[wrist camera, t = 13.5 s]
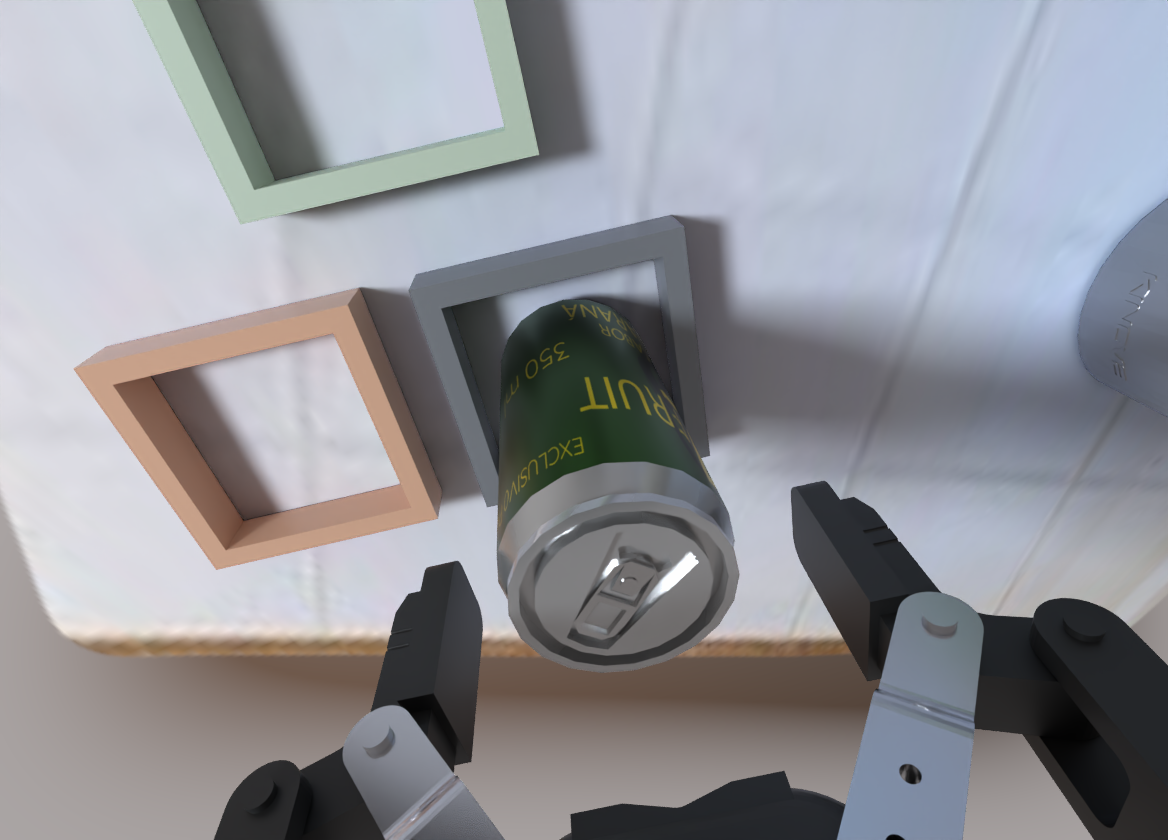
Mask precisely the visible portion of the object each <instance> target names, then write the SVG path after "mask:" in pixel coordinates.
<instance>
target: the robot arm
mask: <svg viewBox="0 0 1168 840" xmlns="http://www.w3.org/2000/svg"><path fill="white" fill-rule="evenodd" d="M1078 343H1079V351H1080V356H1081V358H1082V360H1083V362H1084V365H1085V367H1086V369H1087V370H1088V371H1089V372H1090V373H1091V374H1092V375H1093V376H1094V377H1095V378H1096V379H1097V380H1098V381H1099V382H1101V383H1103V384H1105V385H1107V386H1109V387H1111V388H1113V389H1115V390H1116V391H1118V392H1120V393H1122V394H1124V395H1126V396H1128V397H1130V398H1132V399H1134V400H1136V401H1137V402H1139V403H1141V404H1143V405H1145V406H1147V407H1149V408H1151V409H1153V410H1155V411H1157V412H1158V413H1160V414H1162V415H1164V416H1166V417H1168V199H1167V200H1165V201H1164V202H1163V203H1162V204H1160V205H1159V206H1158V207H1157V208H1156V209H1154V210H1153V211H1152V212H1151V213H1149V214H1148V215H1147V216H1146V217H1144V218H1143V219H1142V220H1141V221H1140V222H1139V223H1138V224H1137V225H1136V226H1135V227H1134V228H1133V229H1132V230H1131V231H1130V232H1129V233H1128V234H1127V235H1126V236H1125V238H1124V239H1123V240H1122V241H1121V242H1120V243H1119V244H1118V245H1117V247H1116V248H1115V249H1114V251H1113V252H1112V254H1111V255H1110V256H1109V258H1108V259H1107V260H1106V262H1105V263H1104V264H1103V266H1102V267H1101V269H1100V271H1099V273H1098V275H1097V276H1096V278H1095V280H1094V282H1093V284H1092V286H1091V288H1090V289H1089V291H1088V294H1087V297H1086V300H1085V303H1084V306H1083V309H1082V312H1081V315H1080V322H1079V330H1078ZM791 505H792V524H793V539H794V544H795V548H796V551H797V554H798V557H799V559H800V561H801V563H802V565H803V567H804V569H805V571H806V572H807V574H808V576H809V578H810V580H811V581H812V583H813V585H814V587H815V589H816V590H817V592H818V594H819V596H820V597H821V599H822V601H823V603H824V605H825V606H826V608H827V610H828V612H829V614H830V615H831V617H832V619H833V621H834V622H835V624H836V626H837V628H838V630H839V631H840V633H841V635H842V637H843V639H844V640H845V642H846V644H847V646H848V648H849V649H850V651H851V653H852V655H853V656H854V658H855V660H856V662H857V664H858V665H859V667H860V669H861V671H862V673H863V674H864V676H865V678H866V680H867V681H872V680H876V679H881V682H880V685H879V689H876V690H875V691H874V694H873V698H872V701H871V705H870V709H869V713H868V717H867V721H866V725H865V730H864V733H863V737H862V741H861V745H860V749H859V753H858V758H857V761H856V765H855V769H854V773H853V777H852V781H851V785H850V789H849V793H848V797H847V801H846V805H845V804H843V803H841V802H839V801H837V800H835V799H833V798H830V797H828V796H825V795H822V794H819V793H816V792H813V791H808V790H803V789H795V788H790V785H789V782H788V779H787V777H786V774H785V772H784V771H782V772H776V773H771V774H767V775H762V776H757V777H752V778H747V779H742V780H737V781H732V782H730V783H728V784H726V785H724V786H722V787H720V788H718V789H716V790H714V791H712V792H710V793H709V794H707V795H705V796H703V797H701V798H699V799H697V800H695V801H693V802H692V803H689V804H687V805H685V806H683V807H679V808H670V807H657V806H644V805H633V804H618V805H613V806H609V807H604V808H599V809H594V810H589V811H584V812H579V813H574V814H571V832H572V833H570V834H568V835H566V836H564V837H563V838H561V839H560V840H962V839H963V831H964V821H965V812H966V803H967V794H968V784H969V776H970V766H971V757H972V747H973V739H974V729H982V730H991V731H1000V732H1010V733H1018V734H1023V736H1024V737H1025V739H1026V740H1027V741H1028V743H1029V744H1030V746H1031V747H1032V749H1033V750H1034V752H1035V753H1036V755H1037V756H1038V758H1039V759H1040V761H1041V762H1042V763H1043V765H1044V766H1045V768H1046V770H1047V771H1048V772H1049V774H1050V775H1051V777H1052V778H1053V780H1054V781H1055V783H1056V784H1057V786H1058V787H1059V789H1060V790H1061V792H1062V793H1063V795H1064V796H1065V797H1066V799H1067V801H1068V802H1069V803H1070V805H1071V806H1072V808H1073V809H1074V811H1075V812H1076V814H1077V815H1078V817H1079V818H1080V820H1081V821H1082V823H1083V824H1084V826H1085V827H1086V829H1087V830H1088V832H1089V833H1090V834H1091V836H1092V837H1093V839H1094V840H1168V665H1167V664H1166V663H1165V662H1164V661H1163V660H1162V659H1161V658H1160V657H1159V656H1158V655H1157V654H1156V653H1155V652H1154V651H1153V650H1152V649H1151V648H1150V647H1149V646H1148V645H1147V644H1146V643H1145V642H1144V641H1143V640H1142V639H1141V638H1140V637H1139V636H1138V635H1137V634H1136V633H1135V632H1134V631H1133V630H1132V629H1131V628H1130V627H1129V626H1128V625H1127V624H1126V623H1125V622H1124V621H1123V620H1121V619H1120V618H1119V617H1118V616H1116V615H1115V614H1114V613H1112V612H1110V611H1109V610H1107V609H1105V608H1103V607H1101V606H1098V605H1096V604H1093V603H1090V602H1087V601H1083V600H1078V599H1071V598H1059V599H1053V600H1049V601H1046V602H1044V603H1042V604H1041V605H1040V606H1039V607H1038V608H1037V609H1036V611H1035V613H1034V617H1033V618H1028V617H1010V616H994V615H986V614H981V613H977V612H976V611H975V610H974V609H973V608H972V607H970V606H969V605H968V604H966V603H965V602H963V601H962V600H960V599H958V598H956V597H953V596H951V595H947V594H944V593H941V592H940V591H939V590H938V588H937V587H936V586H935V585H934V583H933V582H932V581H931V580H930V578H929V577H928V576H927V575H926V573H925V572H924V571H923V570H922V568H921V567H920V566H919V565H918V563H917V562H916V561H915V560H914V558H913V557H912V556H911V555H910V553H909V552H908V551H907V550H906V548H905V547H904V546H903V545H902V543H901V542H898V538H897V537H896V536H895V535H894V533H893V532H892V531H891V530H890V528H889V529H888V527H887V525H886V523H885V522H884V521H883V520H882V518H881V517H880V516H879V515H878V513H877V512H876V511H875V510H874V509H873V508H871V507H870V506H868V505H866V504H865V503H863V502H861V501H860V500H858V499H856V498H855V497H852V498H847V499H843V500H840V499H839V498H838V496H837V495H836V493H835V492H834V491H833V489H832V488H831V487H830V485H829V484H828V483H827V482H826V481H820V482H815V483H811V484H806V485H802V486H797V487H793V488H792V490H791ZM482 632H483V624H482V616H481V611H480V607H479V604H478V602H477V599H476V597H475V595H474V592H473V590H472V588H471V586H470V583H469V581H468V579H467V576H466V574H465V572H464V570H463V567H462V565H461V564H460V562H459V561H454V562H449V563H445V564H440V565H436V566H431V567H428V568H426V570H425V573H424V577H423V582H422V587H421V591H419V592H415V593H410V594H408V595H407V597H406V598H405V600H404V601H403V603H402V604H401V606H400V607H399V609H398V610H397V612H396V614H395V618H394V622H393V626H392V630H391V634H392V635H391V636H390V638H389V642H388V646H387V649H388V651H386V654H385V658H384V662H383V666H382V670H381V674H380V678H379V682H378V686H377V690H376V694H375V697H374V702H373V705H372V709H371V712H370V713H369V714H367V715H366V716H364V717H363V718H362V719H361V720H360V721H359V722H358V723H357V724H356V725H355V726H354V728H353V729H352V730H351V731H350V733H349V735H348V737H347V739H346V741H345V744H344V747H342V748H341V749H339V750H338V751H336V752H334V753H332V754H331V755H328V756H327V757H325V758H323V759H321V760H319V761H317V762H315V763H313V764H311V765H310V766H307V767H306V768H304V769H302V770H299V769H298V768H297V767H296V765H294V763H292V762H290V761H286V760H279V761H274V762H271V763H268V764H266V765H264V766H262V767H260V768H258V769H257V770H255V771H254V772H253V773H251V774H250V775H249V776H248V777H247V778H246V779H245V780H243V782H242V783H241V784H240V785H239V786H238V787H237V788H236V790H235V791H234V793H233V794H232V796H231V797H230V799H229V801H228V803H227V806H226V808H225V811H224V813H223V816H222V819H221V821H220V824H219V827H218V830H217V833H216V835H215V838H214V840H505V839H504V838H503V836H502V835H501V834H500V832H499V831H498V830H497V828H496V827H495V825H494V824H493V823H492V822H491V820H490V819H489V817H488V816H487V815H486V813H485V812H484V811H483V809H482V808H481V806H480V805H479V804H478V802H477V801H476V800H475V798H474V797H473V796H472V794H471V793H470V792H469V790H468V789H467V787H466V786H465V785H464V783H463V782H462V781H461V780H460V779H459V777H458V776H455V775H454V765H458V764H463V763H468V762H471V758H472V747H473V736H474V724H475V713H476V712H475V711H476V701H477V689H478V677H479V666H480V655H481V643H482Z"/></svg>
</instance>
